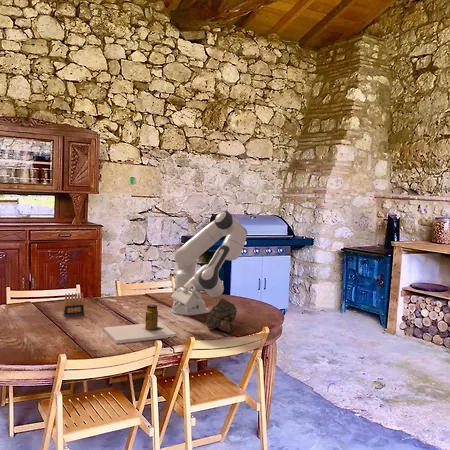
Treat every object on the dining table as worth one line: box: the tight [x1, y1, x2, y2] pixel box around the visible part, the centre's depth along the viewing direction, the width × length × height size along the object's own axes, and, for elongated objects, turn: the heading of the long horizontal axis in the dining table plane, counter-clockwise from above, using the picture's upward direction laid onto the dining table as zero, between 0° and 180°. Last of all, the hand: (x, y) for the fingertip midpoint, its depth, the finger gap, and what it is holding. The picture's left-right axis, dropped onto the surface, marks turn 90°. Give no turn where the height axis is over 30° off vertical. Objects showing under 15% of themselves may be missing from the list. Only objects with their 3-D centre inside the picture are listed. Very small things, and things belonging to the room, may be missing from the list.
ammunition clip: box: [63, 292, 85, 316], centre depth 268 cm, size 11×2×12 cm, turn 120°
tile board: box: [102, 321, 178, 344], centre depth 238 cm, size 30×22×2 cm
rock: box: [205, 298, 238, 333], centre depth 252 cm, size 18×14×15 cm
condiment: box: [142, 303, 162, 331], centre depth 242 cm, size 7×8×12 cm
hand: (173, 309), depth 247 cm, fingers closed
